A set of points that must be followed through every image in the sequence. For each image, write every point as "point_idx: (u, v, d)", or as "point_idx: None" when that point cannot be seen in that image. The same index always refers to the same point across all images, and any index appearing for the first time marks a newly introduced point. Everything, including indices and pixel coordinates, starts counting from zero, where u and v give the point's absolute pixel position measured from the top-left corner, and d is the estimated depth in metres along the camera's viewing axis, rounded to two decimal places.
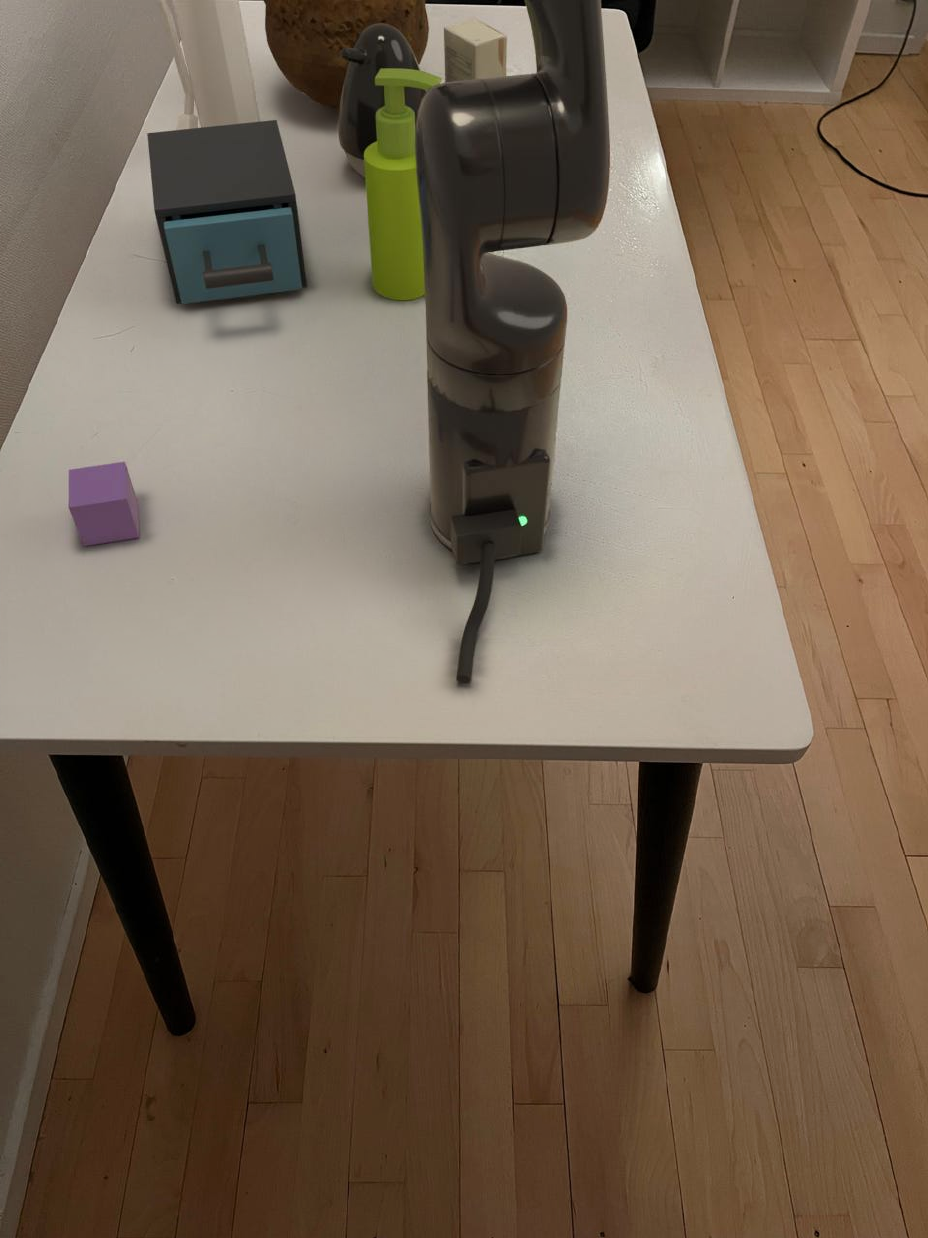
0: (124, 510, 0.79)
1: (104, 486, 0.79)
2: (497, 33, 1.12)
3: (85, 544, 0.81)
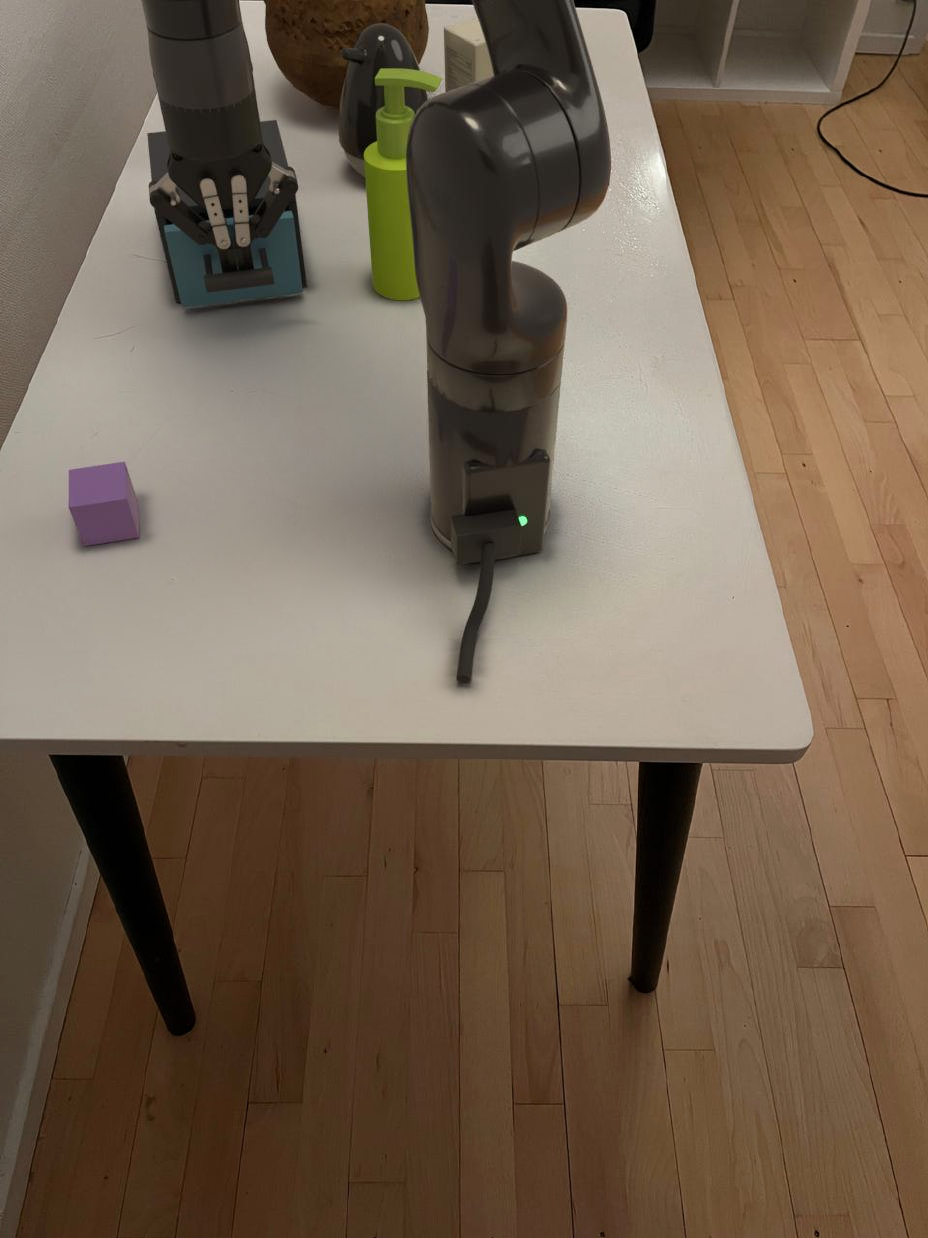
0: (124, 510, 0.79)
1: (104, 486, 0.79)
2: None
3: (85, 544, 0.81)
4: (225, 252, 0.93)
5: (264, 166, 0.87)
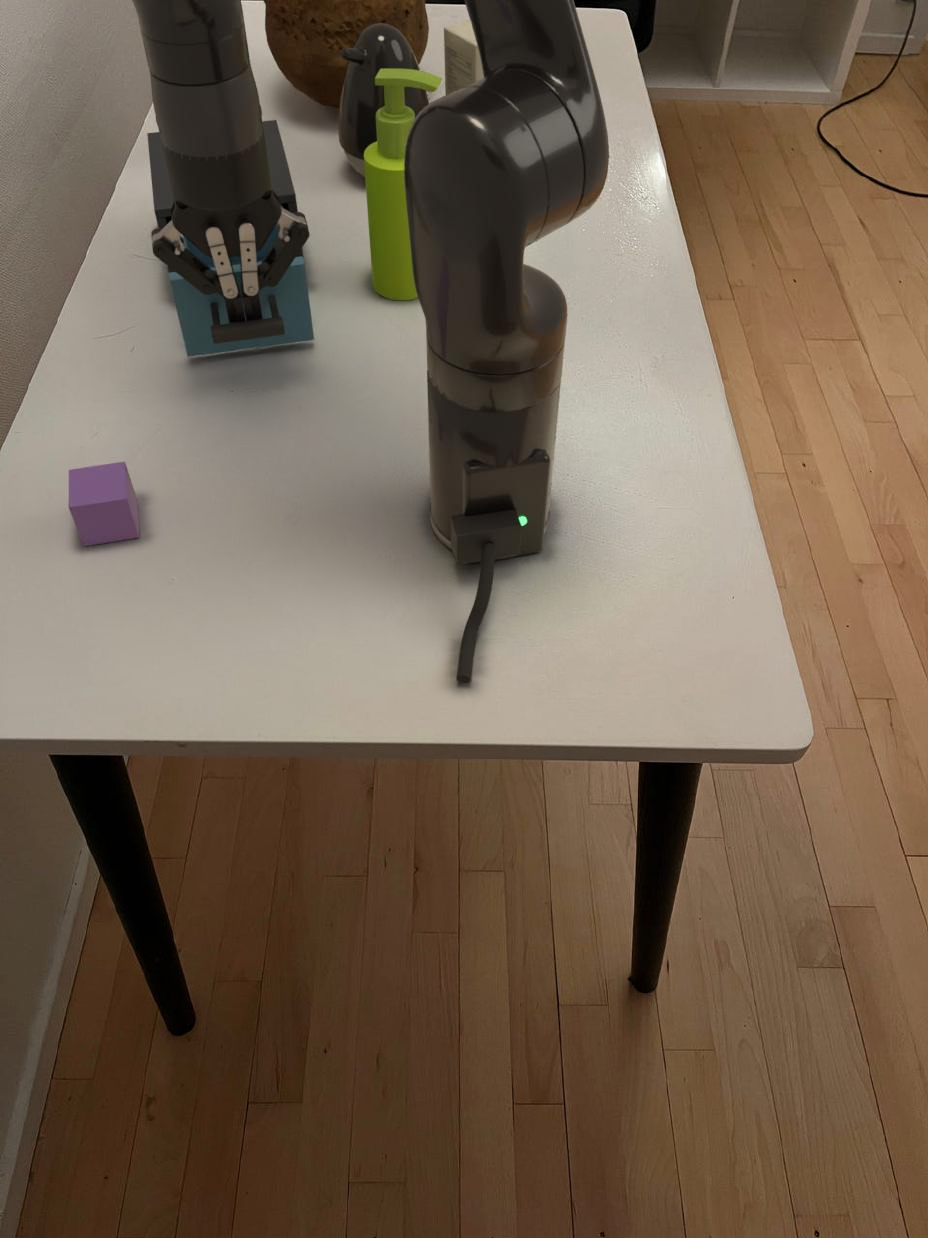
0: (124, 510, 0.79)
1: (104, 486, 0.79)
2: None
3: (85, 544, 0.81)
4: (232, 301, 0.88)
5: (273, 213, 0.83)
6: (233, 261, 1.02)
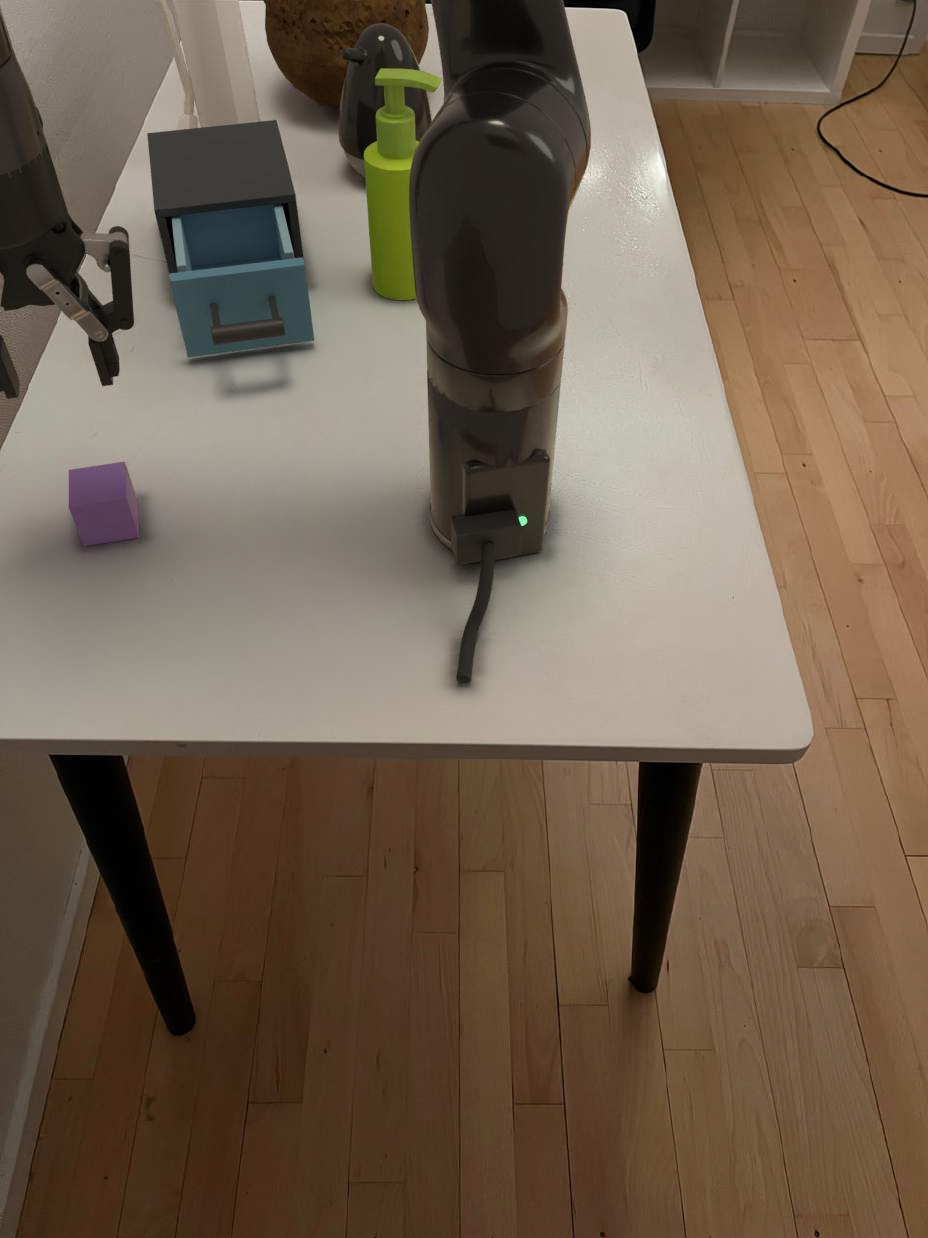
0: (124, 510, 0.79)
1: (104, 486, 0.79)
2: None
3: (85, 544, 0.81)
4: None
5: (73, 251, 0.64)
6: (233, 262, 1.02)
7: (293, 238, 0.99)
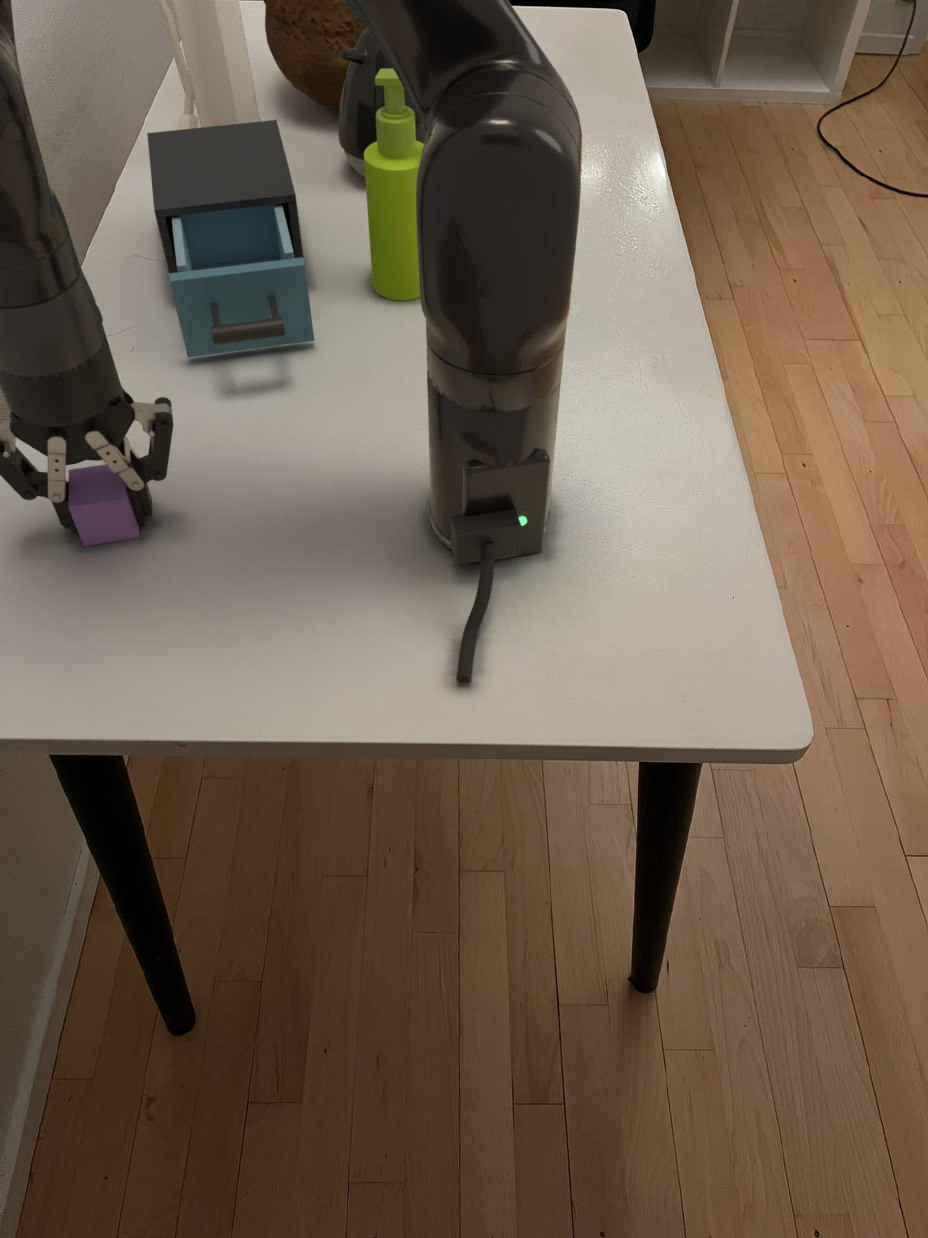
0: (124, 511, 0.79)
1: (104, 486, 0.79)
2: None
3: (85, 544, 0.81)
4: (61, 503, 0.79)
5: (125, 418, 0.74)
6: (233, 262, 1.02)
7: (293, 238, 0.99)
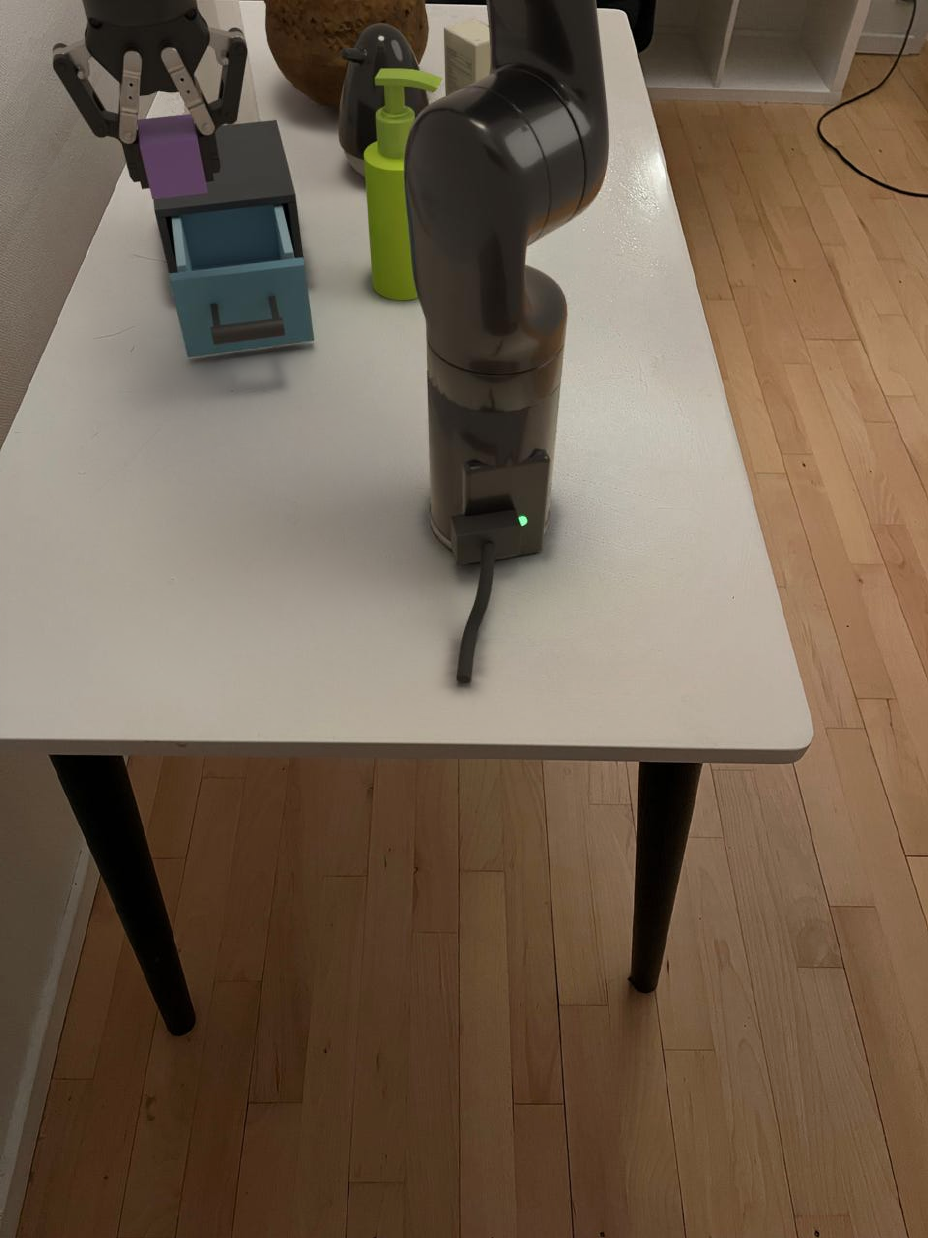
0: (194, 155, 0.79)
1: (174, 131, 0.79)
2: None
3: (153, 196, 0.81)
4: (131, 148, 0.79)
5: (200, 38, 0.74)
6: (233, 262, 1.02)
7: (293, 238, 0.99)
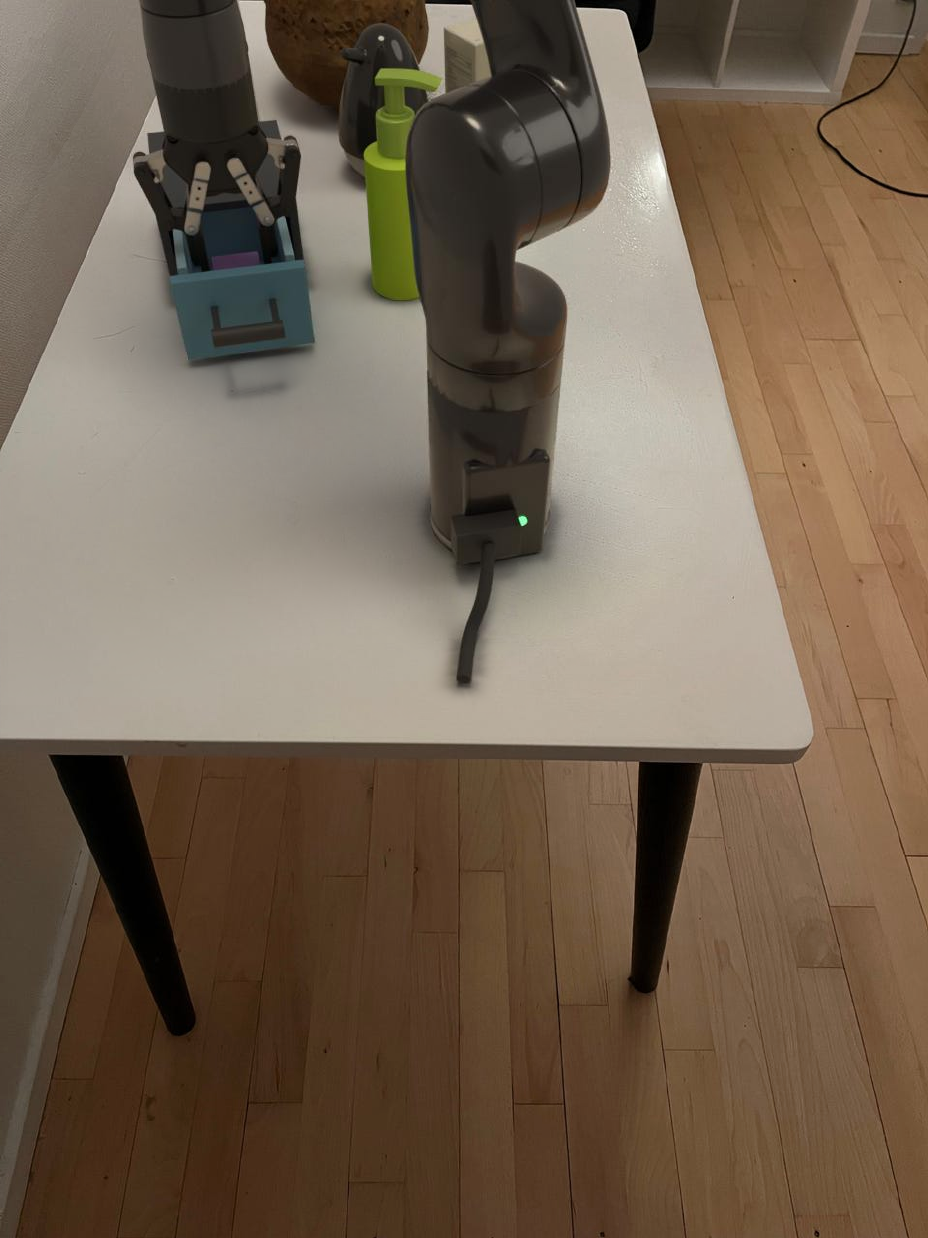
0: None
1: None
2: None
3: None
4: (193, 238, 0.91)
5: (261, 149, 0.86)
6: None
7: (293, 238, 0.99)
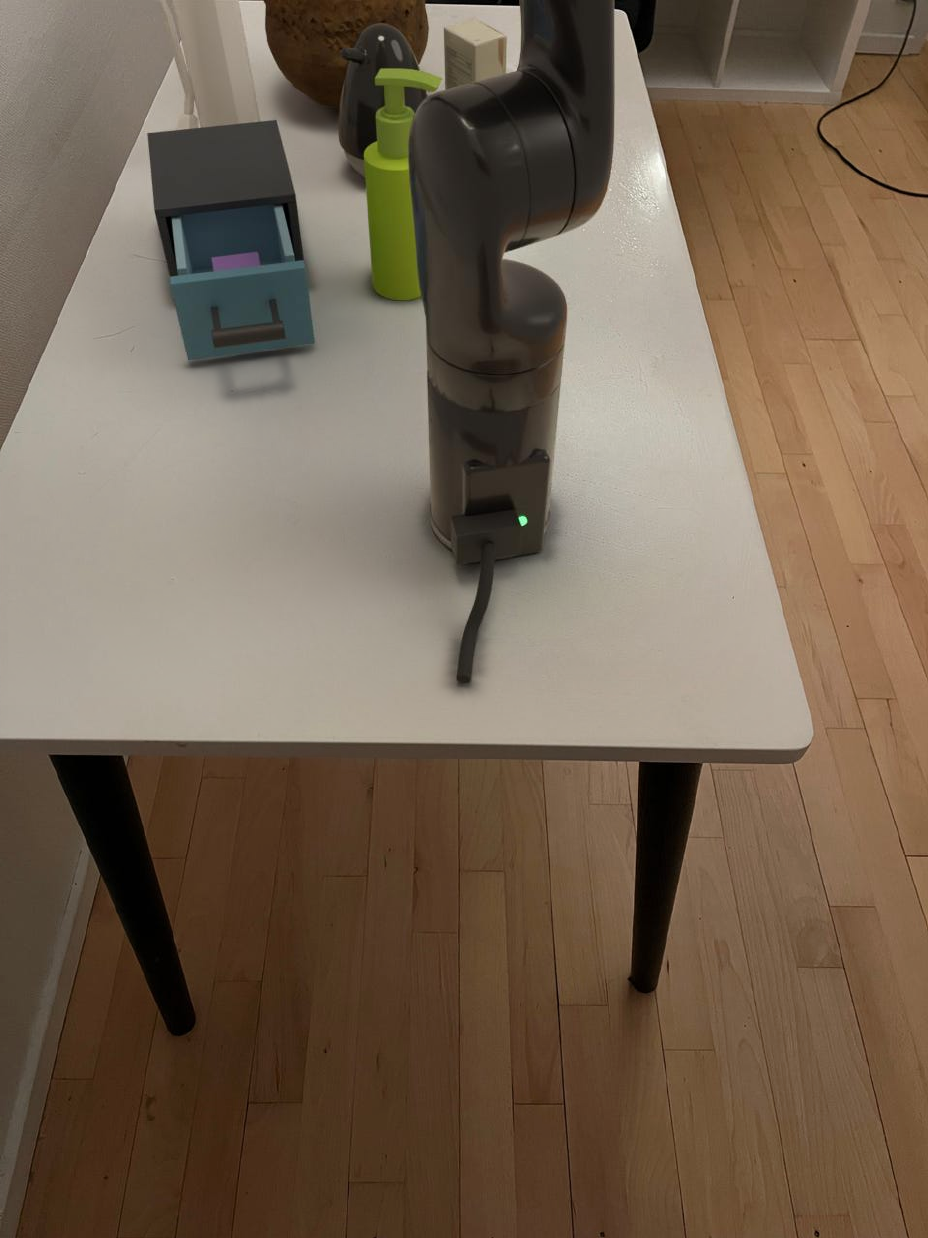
0: None
1: None
2: (497, 33, 1.12)
3: None
4: None
5: None
6: None
7: (293, 238, 0.99)
